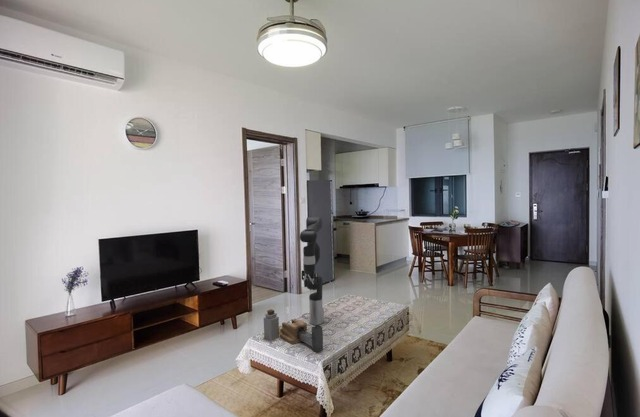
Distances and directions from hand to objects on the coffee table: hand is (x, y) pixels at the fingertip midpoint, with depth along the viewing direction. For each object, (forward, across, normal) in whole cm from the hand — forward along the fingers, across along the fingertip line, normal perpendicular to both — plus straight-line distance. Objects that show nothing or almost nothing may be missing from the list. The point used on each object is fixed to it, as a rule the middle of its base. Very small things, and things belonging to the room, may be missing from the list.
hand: (310, 288), depth 221 cm
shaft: (+33, -1, +6) cm, 33 cm away
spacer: (+31, +19, +6) cm, 37 cm away
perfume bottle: (+33, +20, +17) cm, 42 cm away
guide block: (+33, +10, +6) cm, 35 cm away
